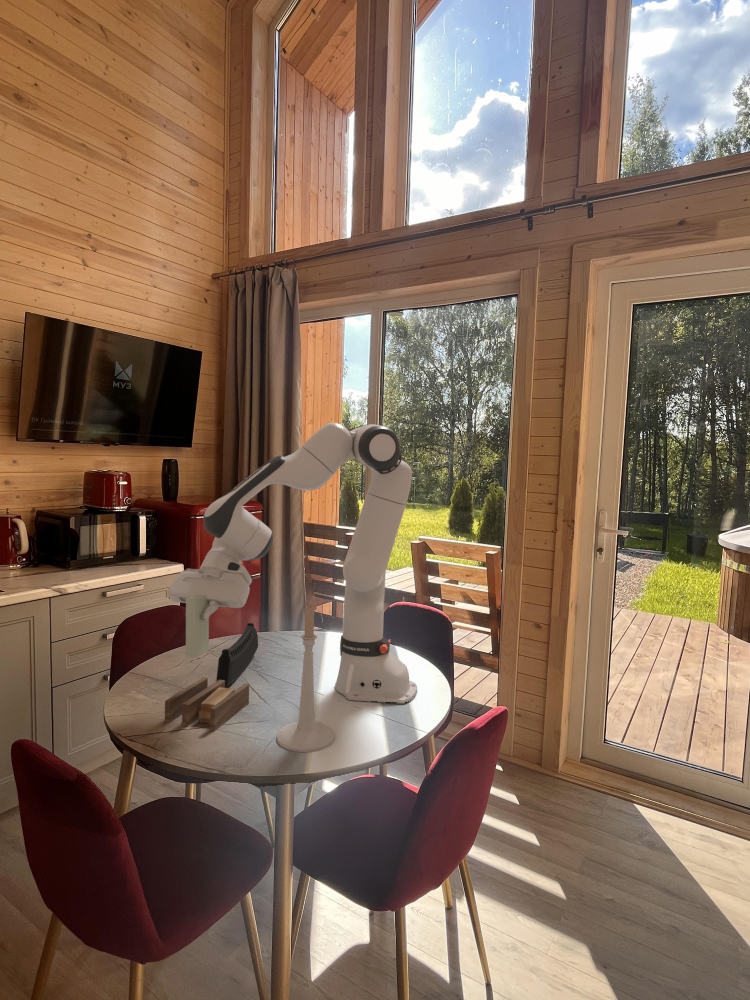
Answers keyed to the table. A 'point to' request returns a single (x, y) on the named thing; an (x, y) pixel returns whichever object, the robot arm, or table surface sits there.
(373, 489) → the robot arm
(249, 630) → the magazine
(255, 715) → the table surface
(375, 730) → the table surface
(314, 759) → the table surface
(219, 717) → the walnut rack
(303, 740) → the candlestick
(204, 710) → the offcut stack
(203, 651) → the tall panel
